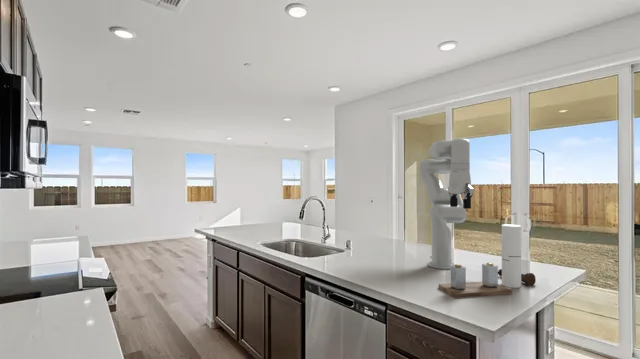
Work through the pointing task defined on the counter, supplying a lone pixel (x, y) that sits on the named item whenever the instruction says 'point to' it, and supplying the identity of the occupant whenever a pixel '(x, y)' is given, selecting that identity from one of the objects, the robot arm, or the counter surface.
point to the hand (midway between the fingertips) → (460, 207)
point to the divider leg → (489, 274)
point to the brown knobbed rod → (524, 278)
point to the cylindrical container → (511, 255)
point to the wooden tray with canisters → (469, 286)
